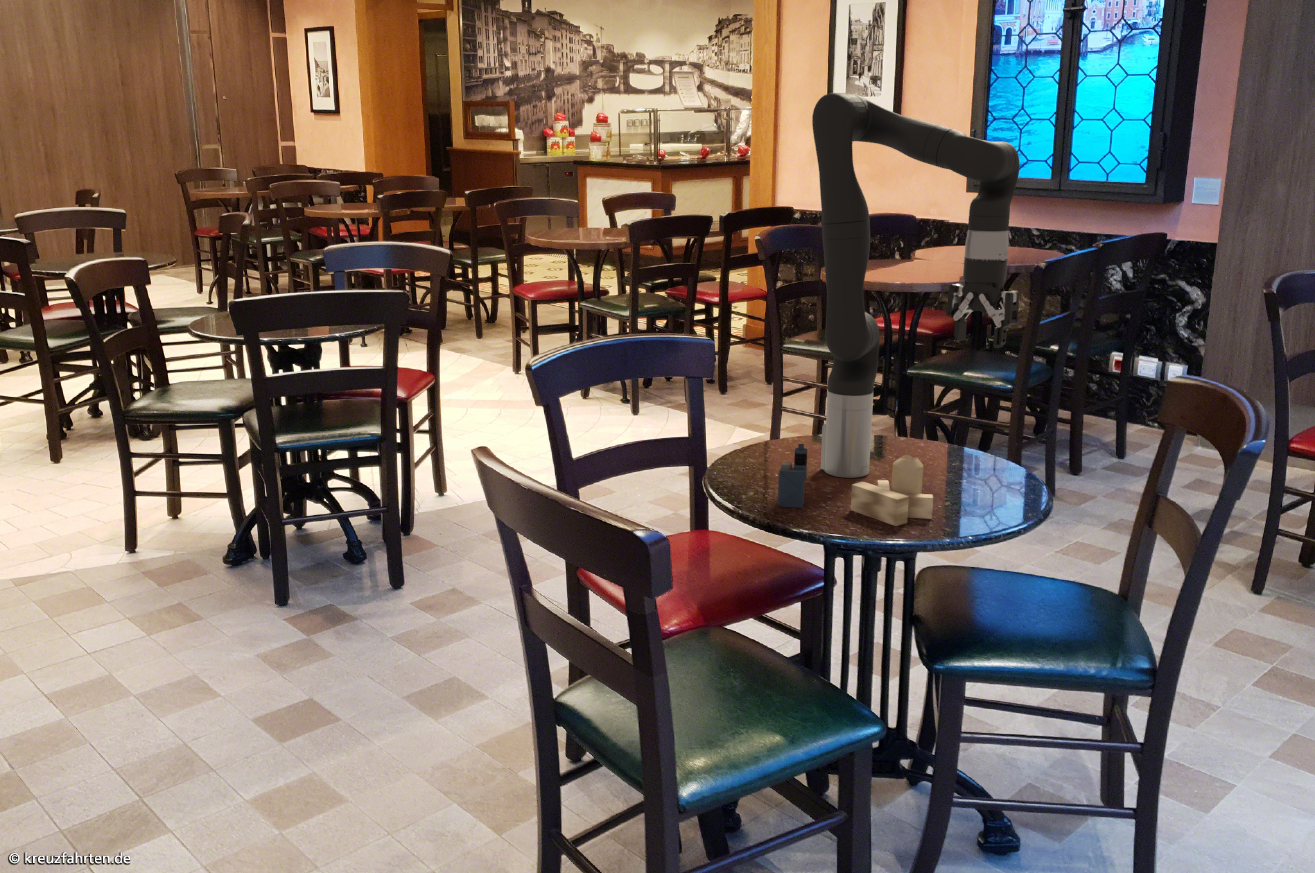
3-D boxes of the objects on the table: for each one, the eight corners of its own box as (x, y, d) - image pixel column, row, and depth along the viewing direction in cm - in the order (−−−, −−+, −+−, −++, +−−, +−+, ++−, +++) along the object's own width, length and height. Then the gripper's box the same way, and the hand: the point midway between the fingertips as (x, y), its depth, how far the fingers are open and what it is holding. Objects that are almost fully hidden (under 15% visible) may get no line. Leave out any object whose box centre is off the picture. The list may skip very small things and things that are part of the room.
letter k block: (846, 508, 204) (847, 482, 203) (881, 498, 210) (882, 473, 208) (901, 528, 194) (902, 501, 192) (937, 517, 199) (938, 491, 198)
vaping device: (805, 508, 204) (807, 446, 201) (777, 506, 205) (778, 445, 202) (806, 504, 206) (808, 443, 203) (778, 502, 207) (780, 441, 204)
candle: (887, 503, 207) (890, 452, 204) (916, 503, 207) (920, 453, 204) (893, 512, 202) (896, 461, 199) (922, 513, 201) (926, 461, 199)
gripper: (941, 253, 201) (935, 340, 205) (1006, 260, 190) (998, 352, 194) (967, 251, 205) (960, 336, 210) (1032, 257, 194) (1024, 347, 199)
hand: (979, 343), depth 202 cm, fingers open, 8 cm apart
